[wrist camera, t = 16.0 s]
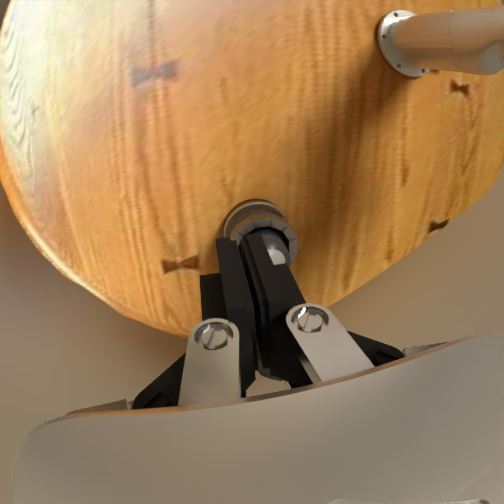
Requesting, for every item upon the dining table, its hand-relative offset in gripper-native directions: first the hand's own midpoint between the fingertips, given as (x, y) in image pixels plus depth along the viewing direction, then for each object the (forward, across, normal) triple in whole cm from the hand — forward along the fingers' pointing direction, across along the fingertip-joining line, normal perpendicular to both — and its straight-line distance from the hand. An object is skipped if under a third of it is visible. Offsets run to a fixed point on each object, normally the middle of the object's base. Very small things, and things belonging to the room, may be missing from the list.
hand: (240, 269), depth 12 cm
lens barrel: (+35, -6, +16) cm, 39 cm away
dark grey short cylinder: (+29, -6, +16) cm, 34 cm away
